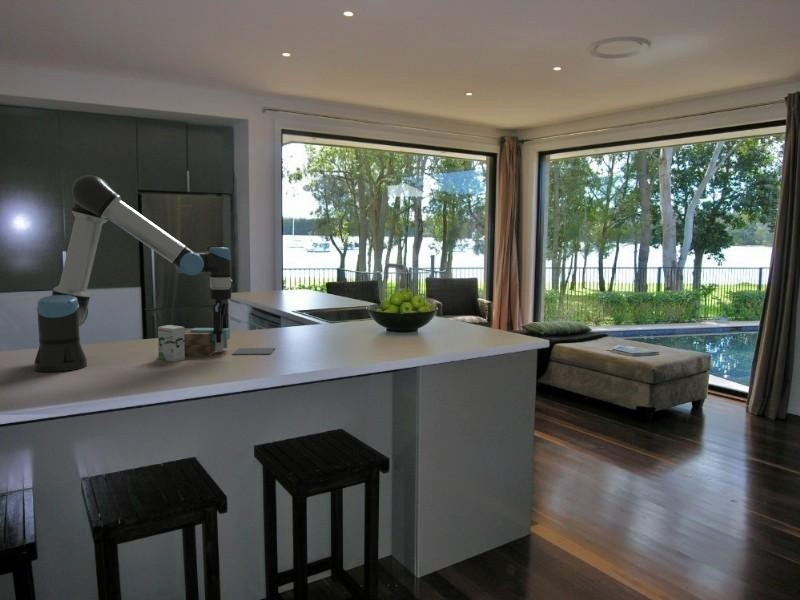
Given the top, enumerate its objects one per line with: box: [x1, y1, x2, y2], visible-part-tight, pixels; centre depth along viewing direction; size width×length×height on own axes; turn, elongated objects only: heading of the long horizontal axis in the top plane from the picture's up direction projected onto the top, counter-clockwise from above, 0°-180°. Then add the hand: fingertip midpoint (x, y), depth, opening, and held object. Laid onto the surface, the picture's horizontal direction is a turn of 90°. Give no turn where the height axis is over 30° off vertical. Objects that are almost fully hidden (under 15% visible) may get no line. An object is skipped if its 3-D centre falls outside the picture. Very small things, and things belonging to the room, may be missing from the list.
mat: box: [231, 347, 276, 356], centre depth 228 cm, size 14×12×1 cm
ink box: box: [157, 324, 186, 362], centre depth 212 cm, size 9×5×12 cm, turn 60°
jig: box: [184, 327, 216, 357], centre depth 226 cm, size 16×15×8 cm
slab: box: [191, 327, 231, 342], centre depth 226 cm, size 13×6×4 cm, turn 93°
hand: (221, 349), depth 227 cm, fingers closed on slab, 6 cm apart
